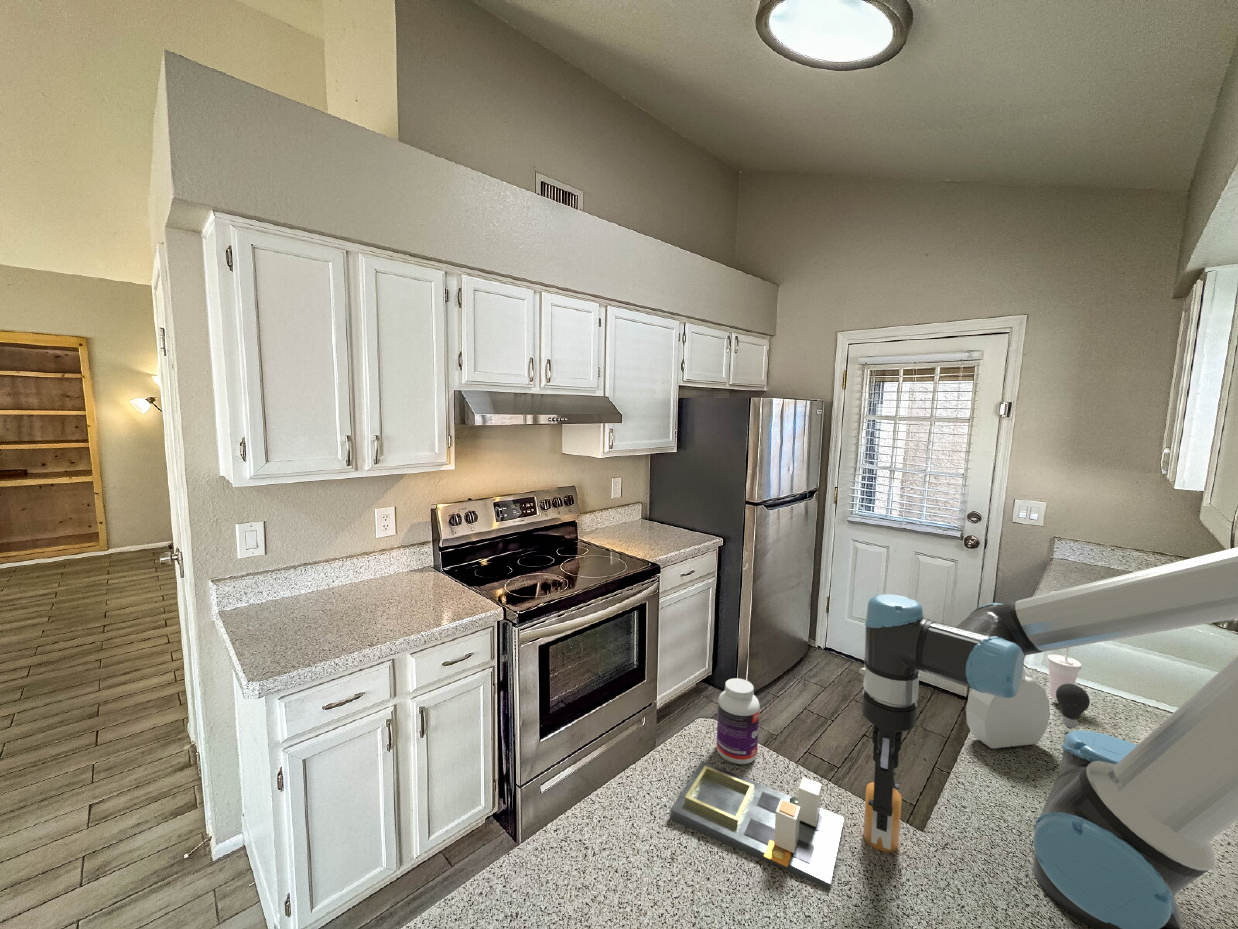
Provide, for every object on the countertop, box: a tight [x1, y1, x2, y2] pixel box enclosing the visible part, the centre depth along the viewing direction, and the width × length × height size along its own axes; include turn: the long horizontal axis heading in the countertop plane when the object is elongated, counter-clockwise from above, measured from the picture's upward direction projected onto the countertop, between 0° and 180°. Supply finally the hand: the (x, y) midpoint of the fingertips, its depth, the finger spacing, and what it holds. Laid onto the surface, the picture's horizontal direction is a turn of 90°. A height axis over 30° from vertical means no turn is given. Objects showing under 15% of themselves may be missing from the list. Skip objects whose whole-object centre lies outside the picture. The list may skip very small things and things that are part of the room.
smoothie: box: [1046, 647, 1082, 701], centre depth 125 cm, size 6×6×14 cm
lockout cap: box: [862, 781, 902, 853], centre depth 81 cm, size 5×5×8 cm
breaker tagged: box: [774, 799, 800, 853], centre depth 78 cm, size 3×3×6 cm
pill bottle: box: [716, 677, 761, 765], centre depth 101 cm, size 8×8×14 cm
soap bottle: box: [965, 666, 1051, 750], centre depth 108 cm, size 16×5×20 cm, turn 100°
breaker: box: [797, 776, 823, 827], centre depth 83 cm, size 3×3×6 cm
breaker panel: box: [669, 760, 845, 890], centre depth 84 cm, size 25×15×3 cm, turn 59°
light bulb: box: [1056, 684, 1091, 730], centre depth 113 cm, size 6×6×10 cm
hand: (882, 834), depth 81 cm, fingers closed on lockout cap, 4 cm apart
